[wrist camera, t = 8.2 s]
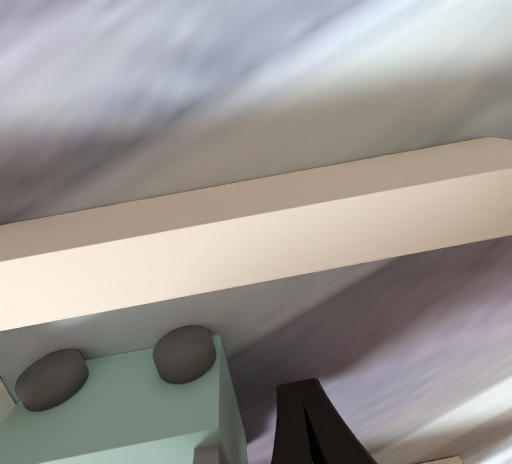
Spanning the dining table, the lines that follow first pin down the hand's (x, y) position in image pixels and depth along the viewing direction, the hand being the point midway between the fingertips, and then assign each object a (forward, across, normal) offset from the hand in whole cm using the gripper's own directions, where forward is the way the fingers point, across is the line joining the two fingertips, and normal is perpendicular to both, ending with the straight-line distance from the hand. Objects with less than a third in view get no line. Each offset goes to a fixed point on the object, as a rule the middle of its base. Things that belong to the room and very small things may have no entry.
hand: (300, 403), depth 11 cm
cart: (+1, +5, 0) cm, 5 cm away
